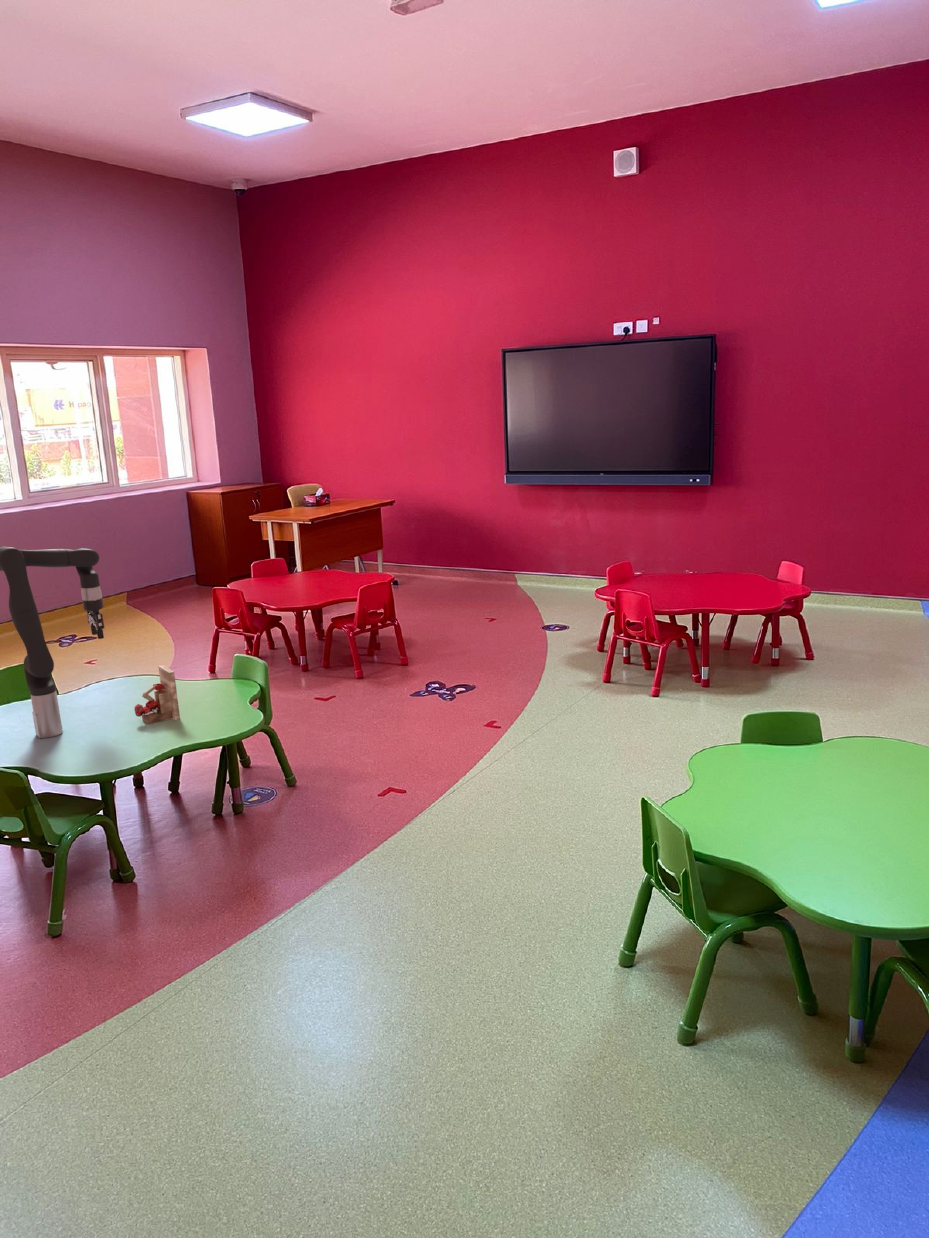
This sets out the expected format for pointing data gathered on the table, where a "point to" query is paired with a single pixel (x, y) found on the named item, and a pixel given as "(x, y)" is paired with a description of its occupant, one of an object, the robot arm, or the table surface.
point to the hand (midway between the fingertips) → (97, 636)
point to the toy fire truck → (149, 702)
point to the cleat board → (165, 699)
